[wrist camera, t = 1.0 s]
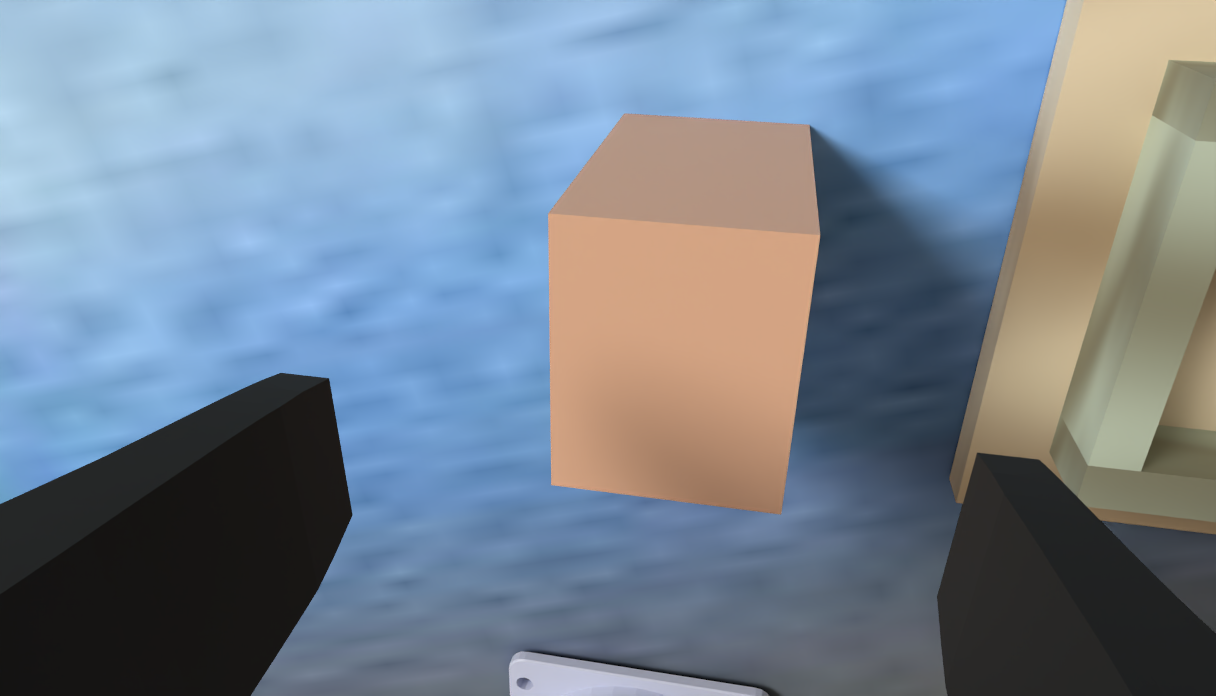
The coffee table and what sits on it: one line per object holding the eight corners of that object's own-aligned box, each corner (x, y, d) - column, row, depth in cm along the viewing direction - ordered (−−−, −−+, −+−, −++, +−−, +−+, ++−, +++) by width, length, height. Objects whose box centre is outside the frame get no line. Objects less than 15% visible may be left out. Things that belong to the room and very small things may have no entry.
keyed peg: (782, 334, 21) (780, 514, 15) (618, 318, 21) (551, 485, 15) (809, 124, 19) (820, 235, 12) (624, 113, 19) (547, 213, 13)
